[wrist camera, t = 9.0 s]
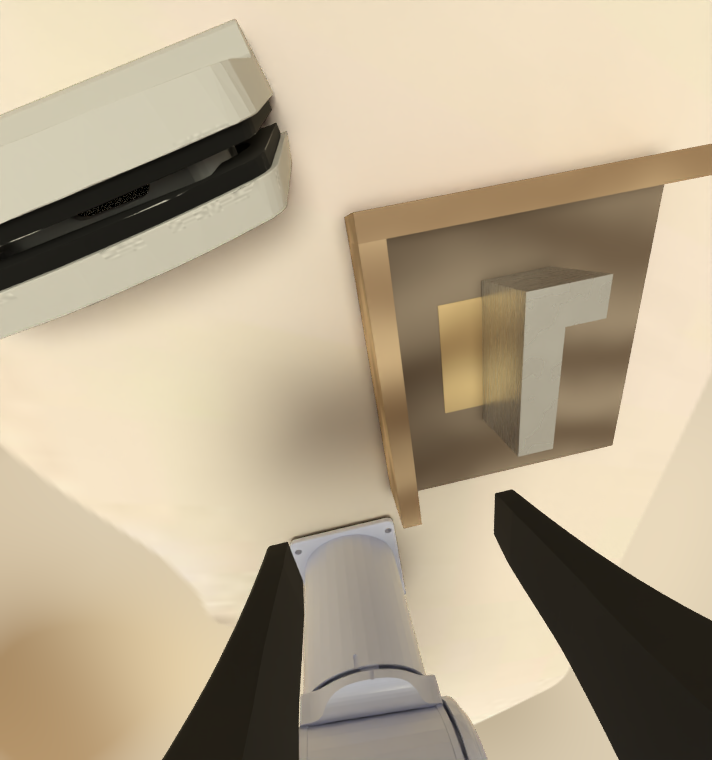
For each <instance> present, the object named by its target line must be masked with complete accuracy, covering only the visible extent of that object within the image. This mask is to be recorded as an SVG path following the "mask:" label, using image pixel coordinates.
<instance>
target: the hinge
mask: <svg viewBox="0 0 712 760" xmlns="http://www.w3.org/2000/svg"><path fill="white" fill-rule="evenodd" d="M272 94H273V92H272V90H271V88H270V86H269V84H268V82H267V80H266V78H265V76H264V74H263V72H262V70H261V68H260V66H259V64H258V62H257V60H256V58H255V56H254V54H253V52H252V50H251V48H250V46H249V44H248V42H247V40H246V38H245V36H244V34H243V32H242V30H241V28H240V26H239V24H238V22H237V20H236V19H233V20H231V21H228V22H226V23H224V24H221V25H219V26H216V27H214V28H211V29H209V30H207V31H204V32H202V33H199V34H197V35H194V36H192V37H189V38H187V39H185V40H182V41H180V42H177V43H175V44H172V45H170V46H168V47H165V48H163V49H160V50H158V51H155V52H153V53H150V54H148V55H146V56H143V57H141V58H138V59H136V60H133V61H131V62H128V63H126V64H124V65H121V66H119V67H116V68H114V69H111V70H109V71H107V72H104V73H102V74H99V75H97V76H94V77H92V78H89V79H87V80H85V81H82V82H80V83H77V84H75V85H72V86H70V87H67V88H65V89H63V90H60V91H58V92H55V93H53V94H50V95H48V96H46V97H43V98H41V99H38V100H36V101H33V102H31V103H28V104H26V105H24V106H21V107H19V108H16V109H14V110H11V111H9V112H7V113H4V114H2V115H0V339H2V338H5V337H8V336H11V335H13V334H16V333H19V332H21V331H24V330H27V329H29V328H32V327H35V326H38V325H40V324H43V323H46V322H48V321H51V320H54V319H57V318H59V317H62V316H64V315H67V314H69V313H72V312H74V311H77V310H79V309H82V308H84V307H87V306H89V305H92V304H94V303H96V302H99V301H101V300H104V299H106V298H109V297H111V296H113V295H115V294H118V293H120V292H122V291H124V290H127V289H129V288H131V287H133V286H136V285H138V284H140V283H142V282H144V281H147V280H149V279H151V278H153V277H156V276H158V275H160V274H162V273H165V272H167V271H169V270H171V269H173V268H175V267H177V266H180V265H182V264H184V263H186V262H188V261H190V260H192V259H194V258H196V257H199V256H201V255H203V254H205V253H207V252H209V251H211V250H213V249H215V248H217V247H219V246H220V245H222V244H224V243H226V242H228V241H230V240H232V239H234V238H236V237H238V236H240V235H242V234H244V233H246V232H248V231H250V230H251V229H253V228H255V227H257V226H259V225H261V224H263V223H265V222H267V221H269V220H271V219H272V218H274V217H275V216H277V215H278V214H280V213H281V212H282V211H283V210H284V209H285V208H286V206H287V199H288V191H289V183H290V175H291V167H292V161H291V154H290V148H289V142H288V137H287V132H286V131H285V132H283V133H280V131H279V129H278V126H277V123H274V124H272V125H270V126H267V127H265V128H262V129H260V127H261V126H262V124H263V122H264V121H265V119H266V118H267V116H268V114H269V113H270V111H271V110H272V109H271V106H270V104H269V101H268V99H269V98H270V97H271V96H272ZM259 129H260V130H259ZM147 184H149V190H148V193H147V194H146V195H143V196H141V197H138V198H136V199H133V200H131V201H128V202H126V203H123V204H121V205H118V206H116V207H113V208H111V209H108V210H105V211H103V212H100V213H98V214H95V215H93V216H79V215H78V214H80V213H82V212H85V211H87V210H90V209H92V208H94V207H97V206H99V205H101V204H104V203H106V202H108V201H111V200H113V199H115V198H117V197H120V196H122V195H124V194H127V193H129V192H131V191H134V190H136V189H138V188H140V187H143V186H145V185H147Z"/></svg>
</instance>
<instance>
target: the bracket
mask: <svg viewBox="0 0 712 760" xmlns="http://www.w3.org/2000/svg"><path fill="white" fill-rule="evenodd" d="M612 279H613V274H610V273H602V272H594V271H585V270H577V269H569V268H561V267H553V266H551V267H546V268H541V269H536V270H531V271H526V272H521V273H516V274H512V275H507V276H502V277H497V278H492V279H487V280H482V367H483V420H484V421H485V422H486V423H487V424H488V425H489V426H490V427H491V428H492V429H493V430H494V432H495V433H496V434H497V435H498V436H499V437H500V438H501V439H502V440H503V441H504V442H505V443H506V444H507V445H508V446H509V447H510V448H511V449H512V451H513V452H514V453H515V454H516V455H517V456H518V457H519V456H524V455H528V454H532V453H537V452H541V451H545V450H549V449H553V443H554V433H555V423H556V414H557V404H558V394H559V385H560V375H561V366H562V356H563V346H564V337H565V327H568V326H573V325H577V324H582V323H587V322H591V321H596V320H600V319H605V318H606V317H607V311H608V304H609V298H610V291H611V285H612Z"/></svg>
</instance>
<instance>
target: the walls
mask: <svg viewBox="0 0 712 760" xmlns="http://www.w3.org/2000/svg"><path fill="white" fill-rule="evenodd" d="M709 175H712V144H708V145H702V146H697V147H692V148H687V149H682V150H676V151H671V152H666V153H661V154H656V155H650V156H645V157H640V158H635V159H630V160H624V161H619V162H614V163H609V164H603V165H598V166H593V167H588V168H583V169H577V170H572V171H567V172H562V173H557V174H551V175H546V176H541V177H536V178H530V179H525V180H520V181H515V182H510V183H504V184H499V185H494V186H489V187H484V188H478V189H473V190H468V191H463V192H458V193H452V194H447V195H442V196H437V197H431V198H426V199H421V200H416V201H411V202H405V203H400V204H395V205H390V206H385V207H379V208H374V209H369V210H364V211H358V212H353V213H351V214H350V215H348V216H346V217H345V223H346V229H347V235H348V241H349V247H350V253H351V259H352V264H353V270H354V276H355V282H356V288H357V294H358V300H359V305H360V311H361V317H362V323H363V329H364V335H365V341H366V346H367V352H368V358H369V364H370V370H371V376H372V382H373V388H374V393H375V399H376V405H377V411H378V417H379V423H380V429H381V434H382V440H383V446H384V452H385V458H386V464H387V470H388V476H389V481H390V487H391V491H392V494H393V497H394V500H395V504H396V507H397V510H398V513H399V516H400V519H401V522H402V525H403V528H408V527H412V526H416V525H421V524H422V523H421V514H420V506H419V498H418V490H417V482H416V474H415V466H414V458H413V450H412V442H411V434H410V426H409V418H408V410H407V402H406V394H405V386H404V378H403V370H402V362H401V354H400V346H399V338H398V330H397V322H396V314H395V306H394V298H393V290H392V281H391V273H390V265H389V257H388V249H387V241H386V239H388V238H393V237H398V236H403V235H409V234H414V233H419V232H424V231H429V230H434V229H439V228H444V227H449V226H454V225H459V224H464V223H470V222H475V221H480V220H485V219H490V218H495V217H500V216H505V215H510V214H515V213H520V212H526V211H531V210H536V209H541V208H546V207H551V206H556V205H561V204H566V203H571V202H576V201H581V200H587V199H592V198H597V197H602V196H607V195H612V194H617V193H622V192H627V191H632V190H637V189H643V188H648V187H653V186H658V185H663V184H668V183H673V182H678V181H683V180H688V179H693V178H698V177H704V176H709Z"/></svg>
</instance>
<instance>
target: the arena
mask: <svg viewBox="0 0 712 760" xmlns="http://www.w3.org/2000/svg"><path fill="white" fill-rule="evenodd" d="M663 187H664V184H663V185H658V186H653V187H648V188H643V189H637V190H632V191H627V192H622V193H617V194H612V195H607V196H602V197H597V198H592V199H587V200H581V201H576V202H571V203H566V204H561V205H556V206H551V207H546V208H541V209H536V210H531V211H526V212H520V213H515V214H510V215H505V216H500V217H495V218H490V219H485V220H480V221H475V222H470V223H464V224H459V225H454V226H449V227H444V228H439V229H434V230H429V231H424V232H419V233H414V234H409V235H403V236H398V237H393V238H388V239H386V241H387V249H388V257H389V265H390V273H391V281H392V290H393V298H394V306H395V314H396V322H397V330H398V338H399V346H400V354H401V362H402V370H403V378H404V386H405V394H406V402H407V410H408V418H409V426H410V434H411V442H412V450H413V458H414V466H415V474H416V482H417V490H418V491H419V490H424V489H428V488H432V487H436V486H441V485H445V484H449V483H453V482H458V481H462V480H466V479H470V478H475V477H479V476H483V475H488V474H492V473H496V472H500V471H505V470H509V469H513V468H517V467H522V466H526V465H530V464H534V463H539V462H543V461H547V460H552V459H556V458H560V457H564V456H569V455H573V454H577V453H581V452H586V451H590V450H594V449H598V448H603V447H607V446H611V445H612V444H613V439H614V434H615V429H616V424H617V419H618V414H619V409H620V404H621V399H622V394H623V389H624V384H625V379H626V374H627V368H628V363H629V358H630V353H631V348H632V343H633V338H634V333H635V328H636V323H637V318H638V313H639V308H640V303H641V298H642V293H643V288H644V283H645V278H646V273H647V268H648V263H649V258H650V253H651V248H652V243H653V238H654V233H655V228H656V222H657V217H658V212H659V207H660V202H661V197H662V192H663ZM551 266H553V267H561V268H569V269H577V270H585V271H594V272H602V273H610V274H613V279H612V285H611V291H610V298H609V304H608V311H607V317H606V318H605V319H600V320H596V321H591V322H587V323H582V324H577V325H573V326H568V327H565V337H564V346H563V356H562V366H561V375H560V385H559V394H558V404H557V414H556V423H555V433H554V443H553V449H549V450H545V451H541V452H537V453H532V454H528V455H524V456H519V457H518V456H517V455H516V454H515V453H514V452H513V451H512V449H511V448H510V447H509V446H508V445H507V444H506V443H505V442H504V441H503V440H502V439H501V438H500V437H499V436H498V435H497V434H496V433H495V432H494V430H493V429H492V428H491V427H490V426H489V425H488V424H487V423H486V422H485V421H484V420H483V367H482V280H487V279H492V278H497V277H502V276H507V275H512V274H516V273H521V272H526V271H531V270H536V269H541V268H546V267H551Z"/></svg>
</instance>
